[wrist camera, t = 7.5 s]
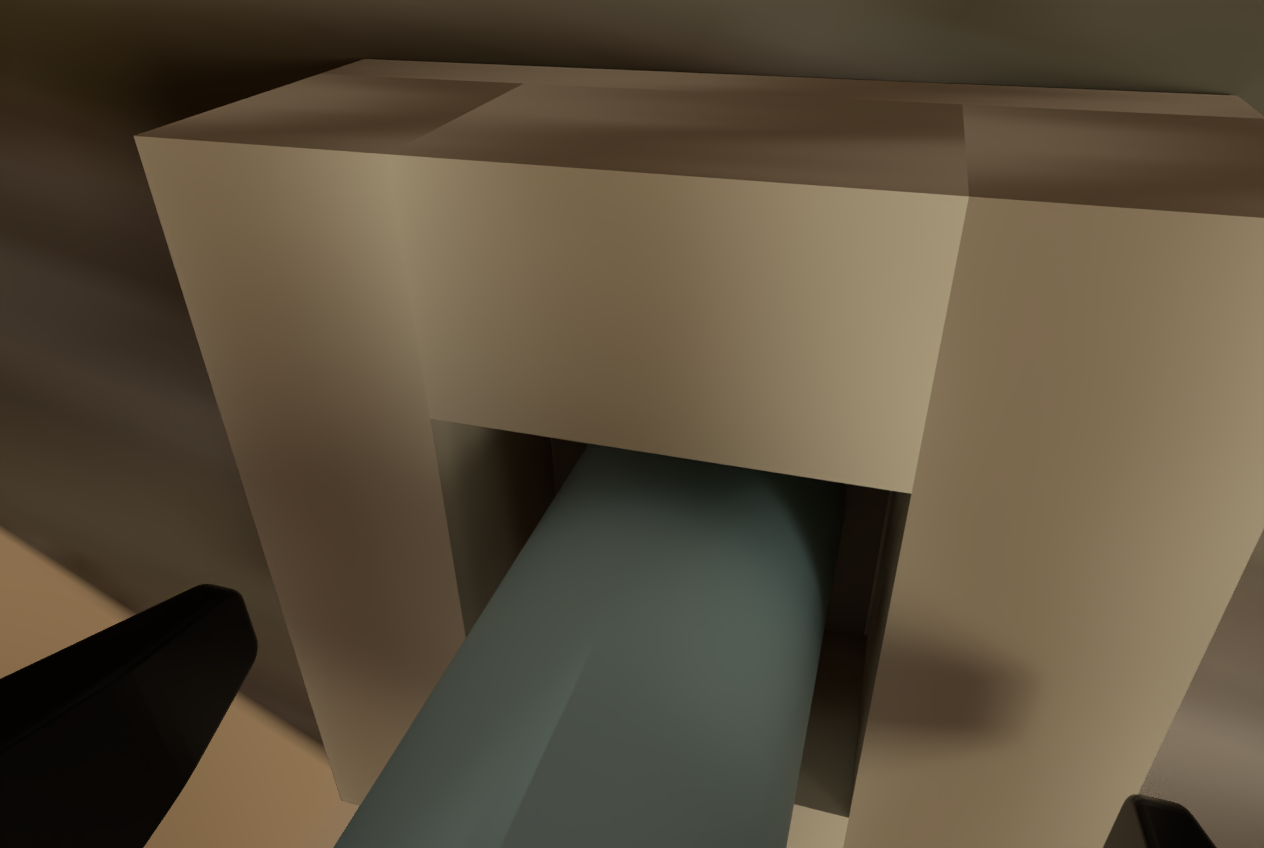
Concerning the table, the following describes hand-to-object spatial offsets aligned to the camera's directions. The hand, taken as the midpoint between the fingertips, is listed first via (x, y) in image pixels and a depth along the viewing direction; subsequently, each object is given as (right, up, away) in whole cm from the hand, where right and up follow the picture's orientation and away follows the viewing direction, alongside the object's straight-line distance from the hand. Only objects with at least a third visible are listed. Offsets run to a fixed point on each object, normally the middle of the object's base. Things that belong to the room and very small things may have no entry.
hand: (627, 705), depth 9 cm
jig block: (+1, +3, +4) cm, 5 cm away
